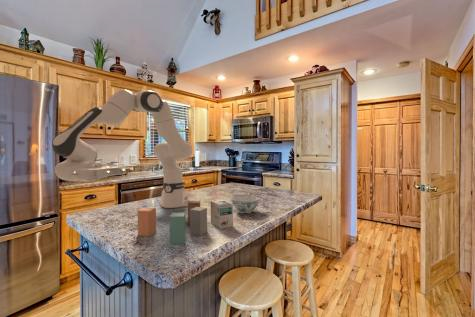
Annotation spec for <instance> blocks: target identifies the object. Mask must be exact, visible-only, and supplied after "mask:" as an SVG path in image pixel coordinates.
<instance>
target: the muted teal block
mask: <svg viewBox="0 0 475 317" xmlns="http://www.w3.org/2000/svg"><path fill="white" fill-rule="evenodd" d="M186 232H187V230H186V212H171V214H170V215H169V245H174V244H175V245H176V244H184V243H185V242H186Z"/></svg>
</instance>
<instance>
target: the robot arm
mask: <svg viewBox="0 0 475 317" xmlns="http://www.w3.org/2000/svg"><path fill="white" fill-rule="evenodd" d="M132 111H135V112H139V113H149V114H150V115H151V116H152V119H153V122H154V126H155V128H156V132H157V135H158V136H159V137H160V138H162V139H163V140H164V141H162V142H159V143H156V144H155V146H154V147H153V154H154V156H155V157H156V158H157V159H158V160H159V162H160V164H161V168H162V172H163V183H162V189H163V190H162V191H161V196H160V197H161V198H160V202H159V205H160V206H161V207H162V208H166V209H167V208H168V209H170V208H171V209H172V208H173V209H174V208H184V207H188V202H189V201H194V199H191V198H190V193H189V191H188V190H187V189H186V188H185V186H186V183H187V182H186V181H183V168H182V167H180V166H179V165H178V163H177V161H178V160H179V161H182V160H183V161H184V160H187V159H190V157H191V156H192V154H193V147H192V145H191V144H190V143H189V142H188V141H186V140H185V138H183V137H182V136H181V134H180V133H179V131H178V128H177V125H176V122H175V118H174V115H173V112H172V109H171V107H170V105H169V103H168V102H167V101H166V100H163V99H162V98H161V96H160V95H159V94H158V92H156V91H153V90H150V89H149V90H140V91H135V92H132V91H130V90H127V89H124V88H121V89H118V90H117V91H115V93H113V94H112V95H111V97H110V98H108V100H107V101H106V102H105V103H104V104H103V105H102V106H100V107H98V106H95V107H92V108H91V109H89V110H87V112H85V113H84V114H83V115H82V116H80V117H79V118H78V119H77V120H76V121H74V122H73V123H72V124H71V125H70V126H69V127H67V128H66V129H65V130H63V131H62V132H60V133H59V134H57V135H56V136H55V137H54V138H53V139H52V142H51V146H52V151H53V152H54V154H56V155H59V156H60V157H61V156H62V157H64V158H65V160H64V161H62V162H58V163H57V164H56V165H55V167H54V173H55V176H56V177H58V178H59V179H60V180H62V181H63V180H64V181H67V182H82V183H83V182H84V183H85V182H86V183H94V182H97V181H98V180H101V179H105V178H108V177H112V176H118V175H124V174H126V173H127V169H125V168H124V166H121V165H114V164H108V163H106V162H103V163H102V162H97V158H98V151H97V149H96V148H95V147H94V146H92V145H91V144H89V143H86V141H83V140H82V139H81V136H82V135H83V134H84V133H85V132H86V131H87V130H89V129H90V128H91V126H93V125H95V124H102V125H107V126H114V127H115V126H119V125H121V124H122V123H123V122H125V120H126V119H127V117H128V116H129V114H131V112H132Z"/></svg>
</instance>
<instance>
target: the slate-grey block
mask: <svg viewBox="0 0 475 317" xmlns="http://www.w3.org/2000/svg"><path fill="white" fill-rule="evenodd" d="M207 232H208V208H207V207H202V206H200V207H195V208H192V209H190V225H189V233H190V235H196V236H199V237H200V236H203V235H205V233H207Z"/></svg>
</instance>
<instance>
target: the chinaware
mask: <svg viewBox="0 0 475 317" xmlns="http://www.w3.org/2000/svg"><path fill="white" fill-rule="evenodd" d="M231 201H232V202H231V203H233V207H234V208H235V209H236V210H237V211H239V214H242V213H250V214H252V213H251V212H252V211H254V210H255V209H256V208H257V207H258V205H259V203H260V202H259V201H260V197H259V196H255V195H254V196H253V195H237V196H233V197H232V198H231Z"/></svg>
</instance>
